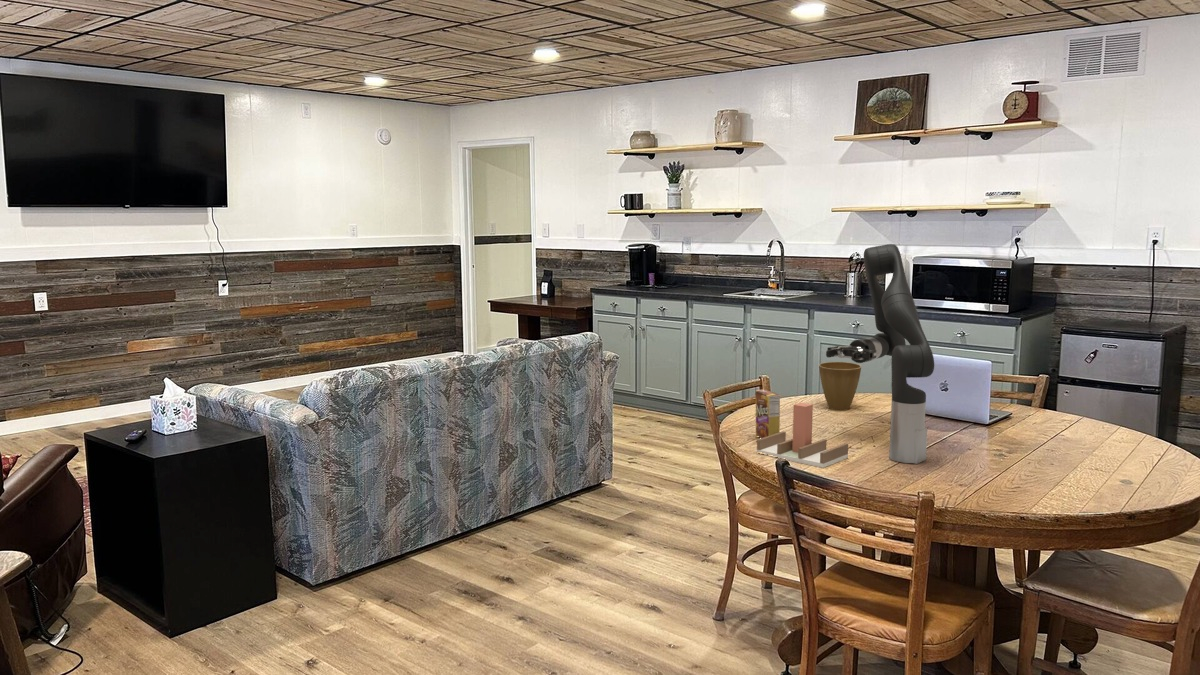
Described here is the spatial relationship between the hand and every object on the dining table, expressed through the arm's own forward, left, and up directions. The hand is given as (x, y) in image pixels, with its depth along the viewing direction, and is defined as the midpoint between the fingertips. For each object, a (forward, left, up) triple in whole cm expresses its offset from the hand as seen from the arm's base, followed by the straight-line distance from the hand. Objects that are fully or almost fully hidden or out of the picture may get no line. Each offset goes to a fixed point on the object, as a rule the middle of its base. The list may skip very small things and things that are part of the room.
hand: (840, 355), depth 269 cm
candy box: (+18, +12, -28) cm, 35 cm away
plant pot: (+24, -44, -28) cm, 57 cm away
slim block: (0, +21, -26) cm, 33 cm away
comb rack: (0, +21, -27) cm, 34 cm away
